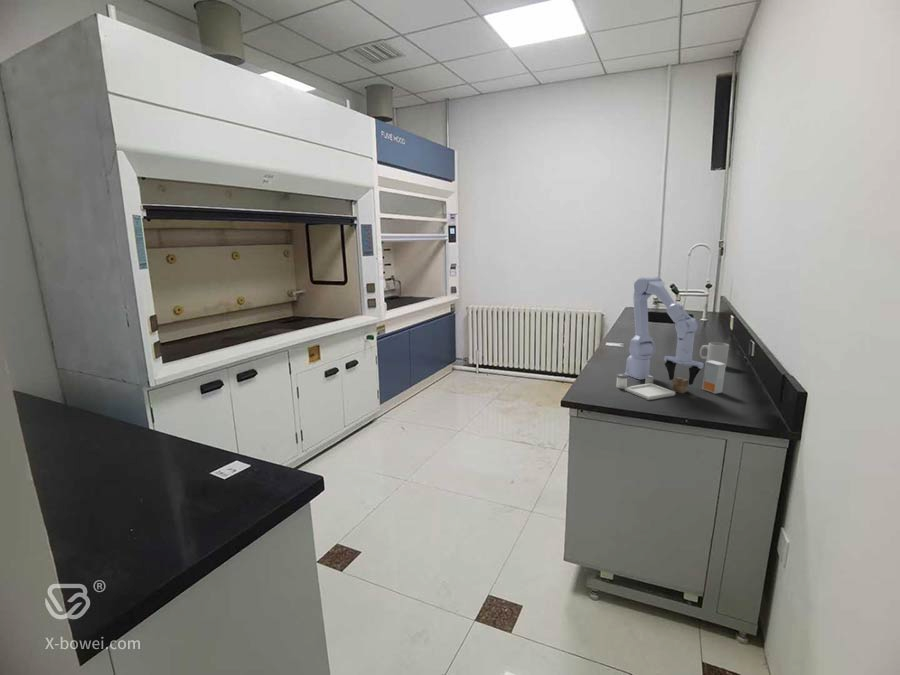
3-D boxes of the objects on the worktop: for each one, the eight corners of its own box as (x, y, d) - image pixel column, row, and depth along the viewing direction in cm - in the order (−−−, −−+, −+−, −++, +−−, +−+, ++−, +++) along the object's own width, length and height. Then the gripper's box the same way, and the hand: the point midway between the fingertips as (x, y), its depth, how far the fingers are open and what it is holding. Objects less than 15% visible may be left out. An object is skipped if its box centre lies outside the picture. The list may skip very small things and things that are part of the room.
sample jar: (613, 386, 185) (614, 374, 184) (621, 384, 187) (622, 373, 186) (621, 389, 181) (622, 377, 180) (629, 388, 183) (630, 375, 182)
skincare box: (701, 389, 181) (704, 360, 179) (709, 388, 183) (712, 359, 180) (714, 394, 176) (718, 364, 173) (722, 392, 177) (726, 363, 175)
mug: (728, 366, 214) (731, 343, 212) (723, 369, 208) (726, 346, 206) (700, 361, 222) (703, 340, 220) (695, 364, 216) (698, 342, 214)
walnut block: (672, 390, 180) (673, 379, 178) (677, 388, 182) (678, 377, 181) (682, 393, 176) (683, 381, 175) (687, 391, 179) (688, 379, 178)
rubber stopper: (643, 384, 188) (644, 377, 187) (648, 383, 189) (649, 376, 189) (648, 386, 185) (649, 379, 185) (654, 385, 186) (655, 378, 186)
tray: (624, 390, 180) (625, 387, 180) (650, 386, 185) (651, 383, 185) (648, 400, 169) (648, 396, 169) (675, 395, 174) (675, 391, 174)
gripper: (661, 347, 179) (658, 379, 182) (699, 354, 167) (695, 388, 170) (670, 344, 183) (666, 376, 186) (707, 351, 172) (703, 384, 174)
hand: (680, 381), depth 178 cm, fingers open, 7 cm apart
